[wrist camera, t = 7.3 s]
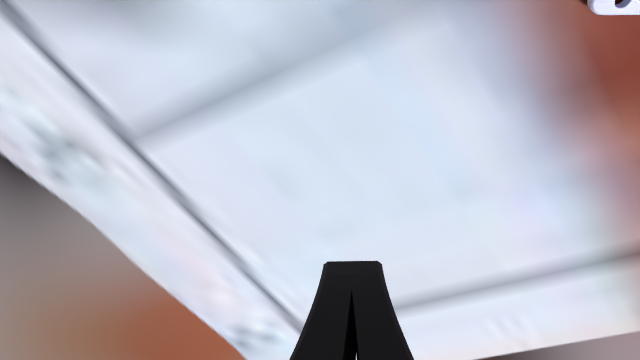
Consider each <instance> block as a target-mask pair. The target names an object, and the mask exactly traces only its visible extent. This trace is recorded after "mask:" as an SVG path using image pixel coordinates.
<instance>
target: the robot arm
mask: <svg viewBox="0 0 640 360" xmlns="http://www.w3.org/2000/svg"><path fill="white" fill-rule="evenodd" d="M587 4H588V7H589V9H590V10H591V11H593V12H594V13H596V14H599V15H640V0H623V1H622V2H621V3H619V4H616V5H615V0H588V2H587ZM356 354H357V360H414V358H413V356H412V354H411V352H410V349H409V347H408V345H407V342H406V340H405V337H404V335H403V332H402V330H401V327H400V325H399V322H398V320H397V317H396V314H395V312H394V309H393V306H392V303H391V300H390V297H389V293H388V290H387V286H386V283H385V278H384V274H383V268H382V264H381V263H380V262H378V261H338V262H327V263H325V264H324V266H323V271H322V275H321V279H320V283H319V286H318V290H317V293H316V296H315V299H314V302H313V304H312V307H311V310H310V313H309V315H308V318H307V320H306V323H305V325H304V328H303V330H302V333H301V335H300V337H299V340H298V342H297V345H296V347H295V349H294V351H293V353H292V355H291V357H290V360H356Z"/></svg>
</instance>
